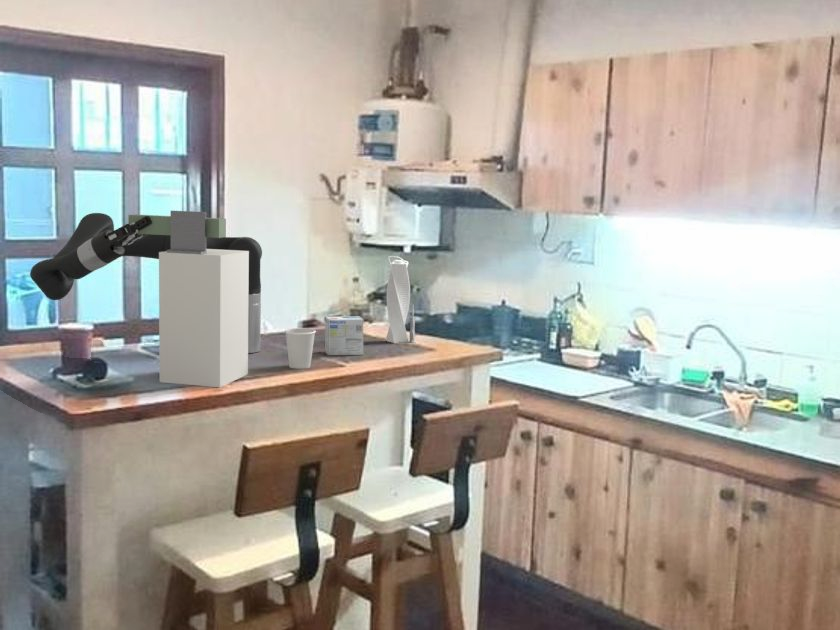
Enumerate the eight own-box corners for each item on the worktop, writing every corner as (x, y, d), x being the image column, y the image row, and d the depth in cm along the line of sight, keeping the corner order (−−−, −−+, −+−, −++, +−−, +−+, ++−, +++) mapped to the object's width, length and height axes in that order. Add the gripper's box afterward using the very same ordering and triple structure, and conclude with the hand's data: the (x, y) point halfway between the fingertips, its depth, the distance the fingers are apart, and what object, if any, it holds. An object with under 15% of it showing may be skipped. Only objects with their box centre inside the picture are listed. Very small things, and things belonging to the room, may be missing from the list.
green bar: (136, 232, 238) (136, 214, 237) (225, 237, 233) (226, 218, 232) (128, 233, 234) (127, 214, 233) (218, 237, 229) (219, 219, 228)
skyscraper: (394, 345, 298) (396, 256, 294) (379, 341, 304) (382, 254, 300) (415, 343, 303) (418, 256, 299) (401, 339, 309) (403, 254, 305)
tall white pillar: (190, 369, 249) (190, 248, 245) (247, 374, 246) (248, 250, 242) (159, 382, 233) (158, 252, 229) (220, 387, 230) (220, 255, 225)
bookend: (172, 251, 231) (172, 210, 230) (206, 253, 229) (206, 212, 228) (166, 252, 228) (166, 210, 227) (201, 254, 226) (201, 212, 225)
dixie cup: (285, 369, 253) (285, 332, 252) (283, 363, 261) (283, 328, 260) (316, 369, 255) (317, 332, 254) (313, 363, 263) (314, 328, 262)
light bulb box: (359, 351, 285) (360, 315, 283) (363, 355, 278) (364, 318, 277) (323, 351, 282) (324, 315, 281) (327, 355, 276) (328, 319, 274)
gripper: (77, 238, 232) (132, 205, 227) (109, 235, 245) (161, 204, 241) (92, 266, 232) (147, 233, 227) (122, 261, 246) (175, 231, 241)
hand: (154, 219), depth 234 cm, fingers closed on green bar, 4 cm apart
